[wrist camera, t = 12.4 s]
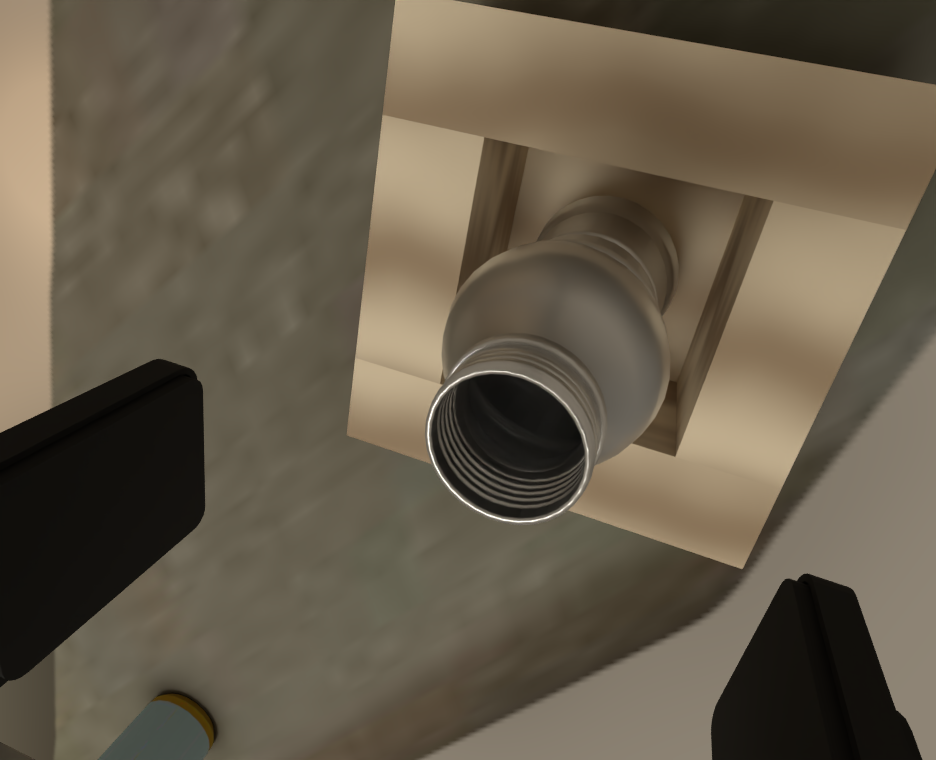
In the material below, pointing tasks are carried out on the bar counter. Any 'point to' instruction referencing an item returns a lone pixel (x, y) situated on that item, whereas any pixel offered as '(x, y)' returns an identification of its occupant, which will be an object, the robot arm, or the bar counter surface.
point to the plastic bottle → (553, 361)
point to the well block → (672, 202)
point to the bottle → (165, 732)
